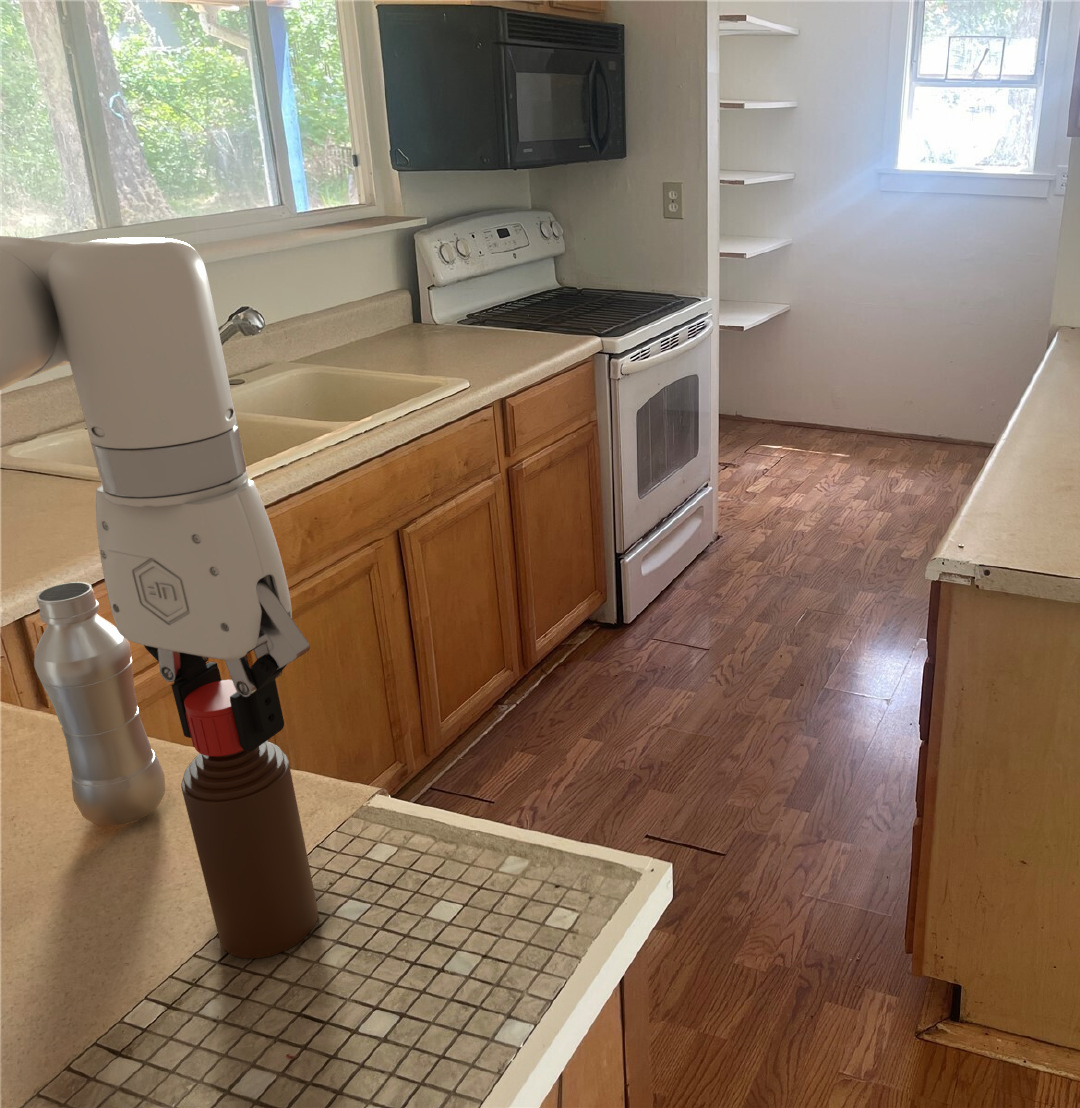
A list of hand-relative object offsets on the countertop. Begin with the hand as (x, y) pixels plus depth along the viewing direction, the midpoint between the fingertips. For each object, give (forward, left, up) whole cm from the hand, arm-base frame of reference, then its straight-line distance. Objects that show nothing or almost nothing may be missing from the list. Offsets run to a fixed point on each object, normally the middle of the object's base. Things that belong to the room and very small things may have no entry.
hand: (235, 730), depth 67 cm
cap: (-1, 0, 0) cm, 1 cm away
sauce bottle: (-1, 0, -16) cm, 16 cm away
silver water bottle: (-3, +22, -16) cm, 27 cm away
